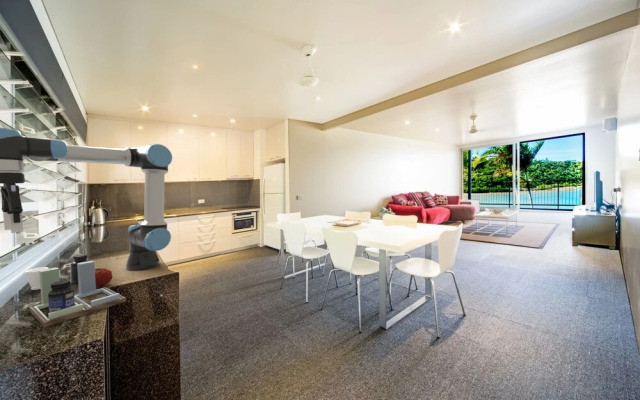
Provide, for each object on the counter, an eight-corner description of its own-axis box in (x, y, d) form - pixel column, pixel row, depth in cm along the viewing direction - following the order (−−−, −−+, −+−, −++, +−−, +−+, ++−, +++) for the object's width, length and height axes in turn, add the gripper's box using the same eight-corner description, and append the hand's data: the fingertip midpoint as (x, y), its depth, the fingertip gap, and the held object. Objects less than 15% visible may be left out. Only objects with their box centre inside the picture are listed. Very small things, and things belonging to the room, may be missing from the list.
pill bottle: (70, 316, 85) (68, 283, 85) (45, 321, 82) (43, 286, 82) (78, 308, 91) (76, 277, 90) (54, 312, 88) (52, 280, 87)
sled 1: (67, 298, 99) (64, 265, 98) (85, 312, 87) (83, 275, 87) (32, 308, 91) (29, 272, 91) (47, 324, 80) (44, 283, 79)
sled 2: (100, 289, 107) (98, 259, 107) (121, 301, 96) (119, 267, 95) (71, 297, 100) (69, 264, 99) (90, 310, 88) (87, 273, 88)
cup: (22, 292, 107) (21, 273, 107) (33, 284, 116) (32, 267, 115) (46, 288, 110) (44, 270, 110) (55, 281, 119) (54, 264, 119)
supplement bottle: (85, 283, 117) (83, 256, 116) (67, 284, 115) (65, 258, 114) (94, 278, 123) (93, 253, 123) (77, 279, 122) (75, 254, 121)
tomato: (94, 283, 116) (93, 266, 115) (117, 281, 118) (116, 264, 117) (79, 291, 107) (78, 272, 106) (105, 289, 108) (104, 270, 108)
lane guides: (105, 290, 107) (104, 286, 107) (125, 301, 96) (125, 297, 96) (29, 311, 90) (29, 306, 90) (44, 327, 78) (43, 322, 78)
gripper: (-14, 173, 97) (-8, 230, 98) (-3, 170, 83) (3, 235, 84) (17, 174, 103) (22, 227, 104) (31, 170, 90) (36, 231, 91)
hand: (13, 230), depth 94 cm, fingers open, 13 cm apart
